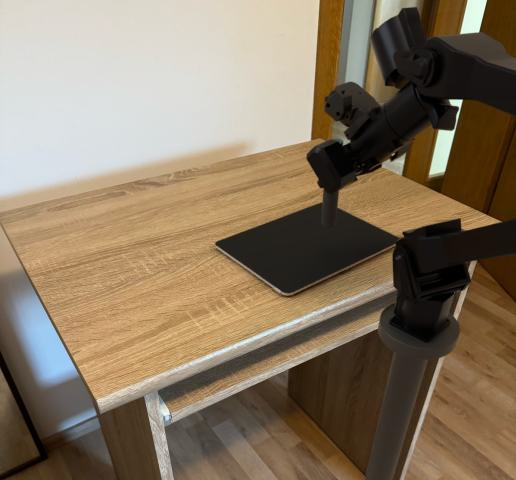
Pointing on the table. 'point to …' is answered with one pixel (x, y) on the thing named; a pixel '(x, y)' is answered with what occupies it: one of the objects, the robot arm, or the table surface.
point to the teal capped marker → (330, 205)
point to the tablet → (305, 248)
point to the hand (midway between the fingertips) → (324, 182)
